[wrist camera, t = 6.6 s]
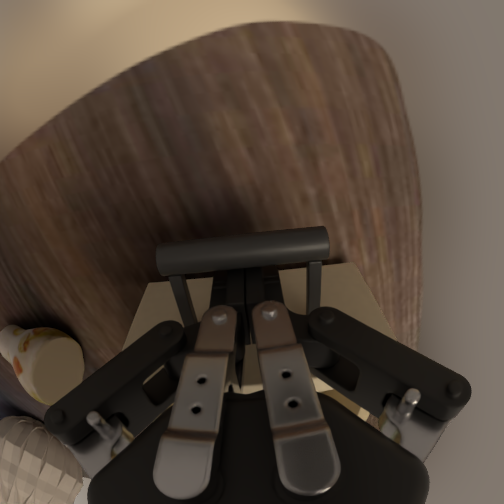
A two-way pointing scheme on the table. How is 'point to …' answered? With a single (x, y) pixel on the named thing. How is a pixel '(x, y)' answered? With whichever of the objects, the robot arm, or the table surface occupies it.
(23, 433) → the vase
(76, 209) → the table surface
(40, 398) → the mug
